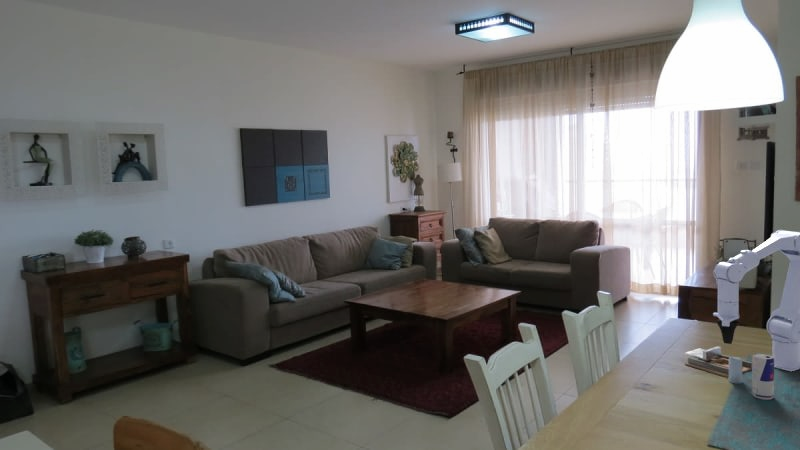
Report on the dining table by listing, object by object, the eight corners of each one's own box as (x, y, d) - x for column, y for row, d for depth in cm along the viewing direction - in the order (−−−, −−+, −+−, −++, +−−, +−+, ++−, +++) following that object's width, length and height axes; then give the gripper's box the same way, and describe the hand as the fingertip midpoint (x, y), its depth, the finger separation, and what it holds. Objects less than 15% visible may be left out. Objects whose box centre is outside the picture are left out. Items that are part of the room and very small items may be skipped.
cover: (698, 349, 201) (698, 341, 201) (721, 355, 194) (721, 347, 194) (684, 354, 197) (684, 346, 197) (706, 360, 191) (706, 351, 190)
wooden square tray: (711, 356, 201) (711, 350, 201) (755, 368, 188) (755, 361, 187) (685, 365, 194) (685, 358, 194) (729, 378, 181) (729, 371, 181)
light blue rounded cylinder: (733, 378, 181) (733, 356, 180) (744, 381, 178) (744, 359, 177) (726, 380, 179) (726, 358, 178) (737, 384, 176) (737, 361, 175)
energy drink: (777, 400, 163) (777, 359, 162) (756, 400, 164) (756, 358, 163) (769, 393, 168) (769, 353, 167) (748, 392, 169) (749, 352, 168)
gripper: (716, 294, 189) (716, 335, 190) (710, 304, 177) (710, 347, 179) (741, 296, 185) (740, 337, 186) (737, 306, 173) (737, 351, 175)
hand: (727, 343), depth 182 cm, fingers closed
